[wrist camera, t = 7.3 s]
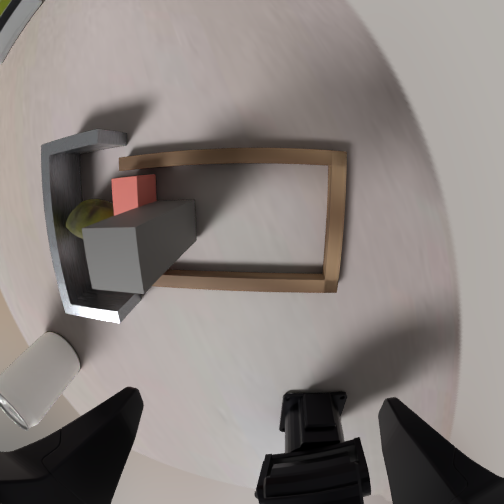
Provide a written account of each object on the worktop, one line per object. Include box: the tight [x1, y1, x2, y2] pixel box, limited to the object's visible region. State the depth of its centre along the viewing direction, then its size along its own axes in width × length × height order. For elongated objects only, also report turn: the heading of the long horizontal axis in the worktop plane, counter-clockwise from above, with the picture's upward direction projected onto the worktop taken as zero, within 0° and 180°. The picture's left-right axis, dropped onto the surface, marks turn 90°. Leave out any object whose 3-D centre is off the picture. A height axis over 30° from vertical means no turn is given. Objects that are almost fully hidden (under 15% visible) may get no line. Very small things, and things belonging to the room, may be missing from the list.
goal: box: [41, 129, 141, 323], centre depth 19 cm, size 14×6×4 cm, turn 0°
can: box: [0, 332, 80, 431], centre depth 20 cm, size 6×6×12 cm
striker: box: [82, 174, 196, 294], centre depth 15 cm, size 7×5×9 cm
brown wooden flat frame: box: [119, 148, 347, 293], centre depth 19 cm, size 10×16×1 cm, turn 90°
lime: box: [66, 199, 114, 239], centre depth 18 cm, size 4×5×5 cm
